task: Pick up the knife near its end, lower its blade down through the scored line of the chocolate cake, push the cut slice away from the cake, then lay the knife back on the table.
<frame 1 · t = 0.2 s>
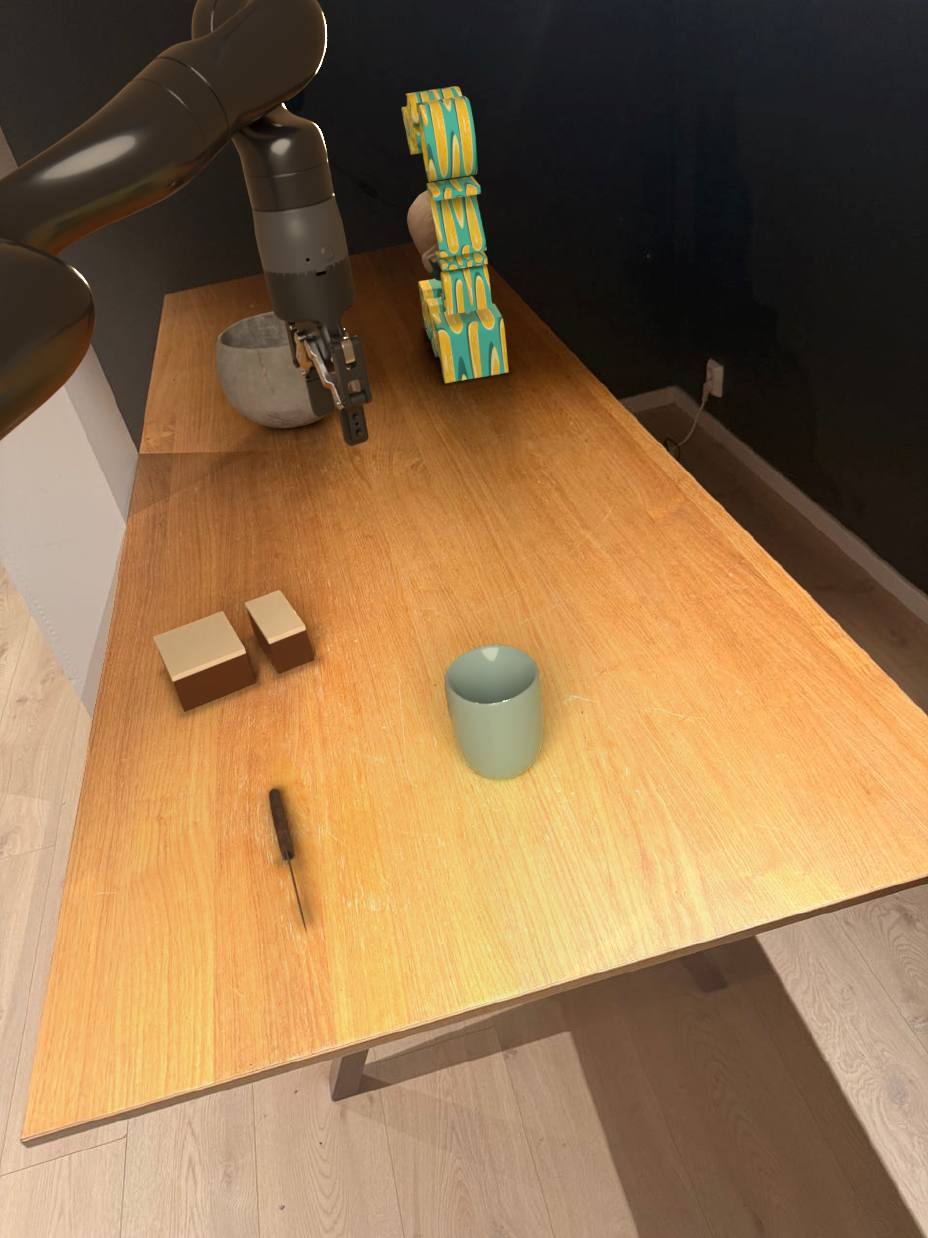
hand: (340, 427, 92), 22 cm above the table, tool pointing down, fingers open, 8 cm apart
knife: (290, 862, 77), on the table
bowl: (298, 420, 150), on the table
slice: (283, 647, 101), on the table
cup: (502, 762, 84), on the table
cake: (210, 676, 98), on the table
party decoration: (460, 348, 167), on the table
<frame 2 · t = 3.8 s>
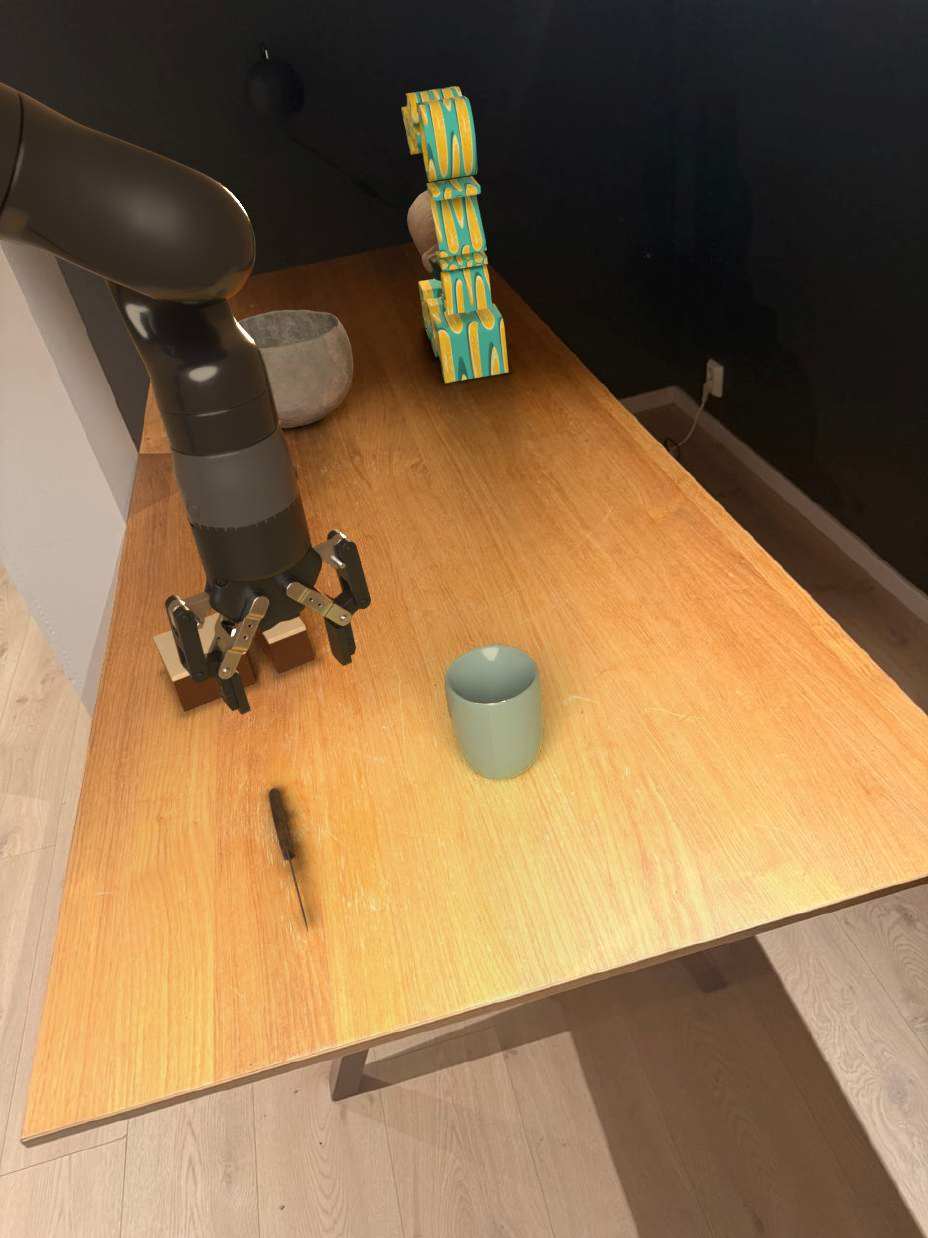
hand: (293, 683, 72), 15 cm above the table, tool pointing down, fingers open, 8 cm apart
nothing on the table moved.
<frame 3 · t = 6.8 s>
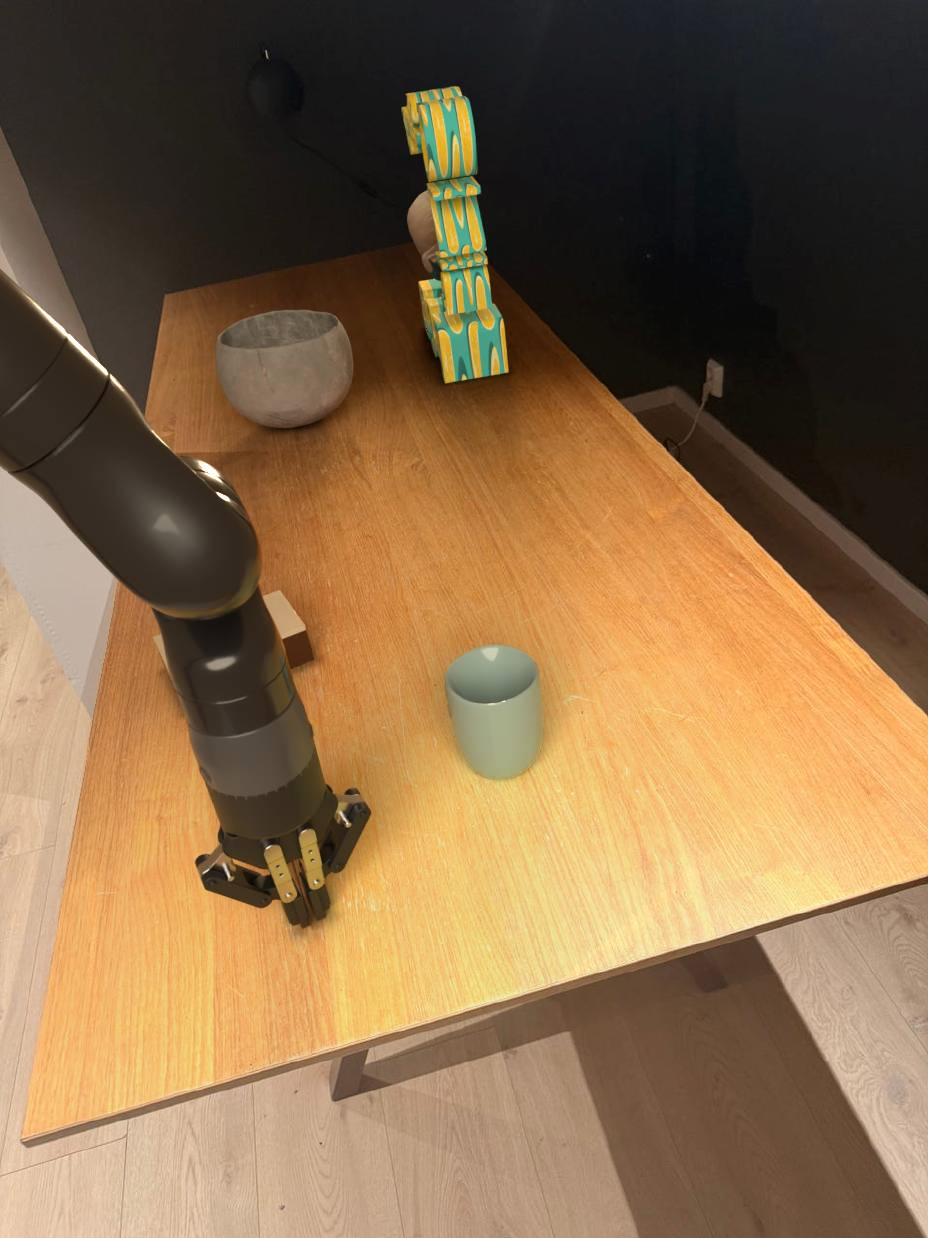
hand: (309, 915, 73), 0 cm above the table, tool pointing down, fingers closed on knife, 1 cm apart
knife: (292, 861, 77), on the table, touching gripper
everything else where it was.
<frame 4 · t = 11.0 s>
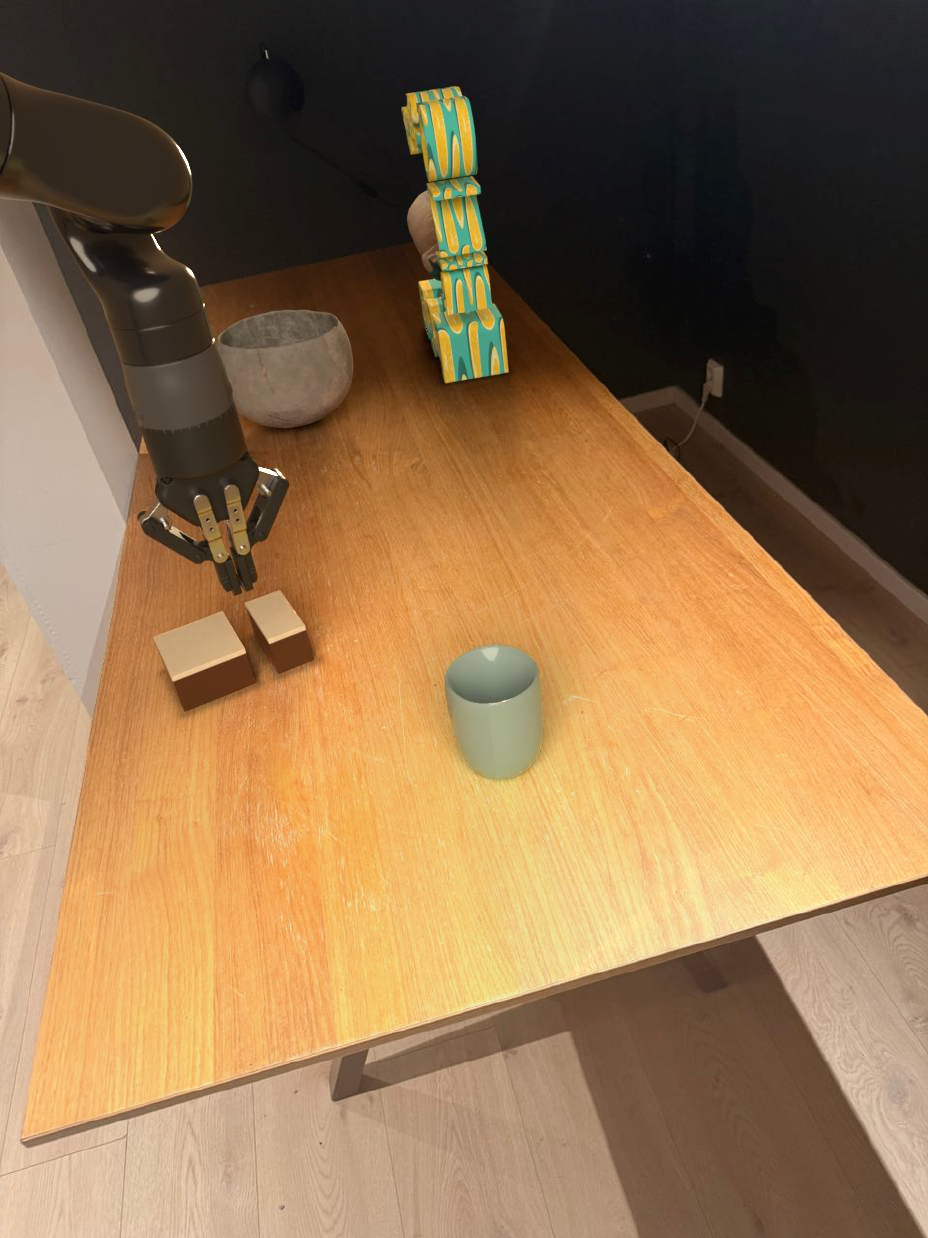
hand: (241, 588, 84), 15 cm above the table, tool pointing down, fingers closed
knife: (223, 561, 88), point 14 cm above the table, touching gripper
everything else where it was.
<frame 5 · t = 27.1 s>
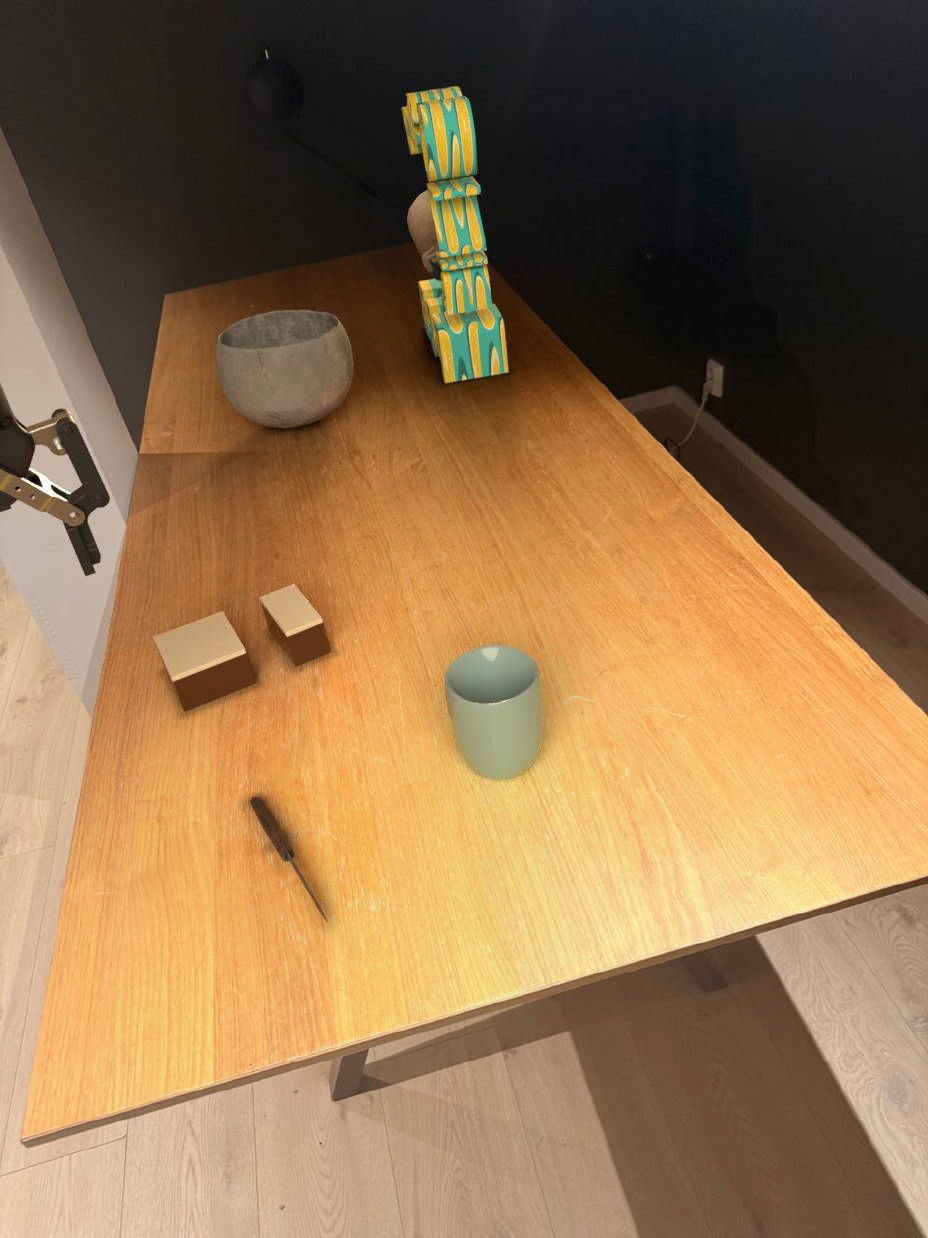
hand: (22, 592, 61), 28 cm above the table, tool pointing down, fingers open, 8 cm apart
knife: (290, 863, 77), on the table
slice: (299, 641, 102), on the table
everything else where it was.
at the end: slice moved 1.8 cm from its start; slice touching table; knife inside the target area (1.0 cm from its centre), on the table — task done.
